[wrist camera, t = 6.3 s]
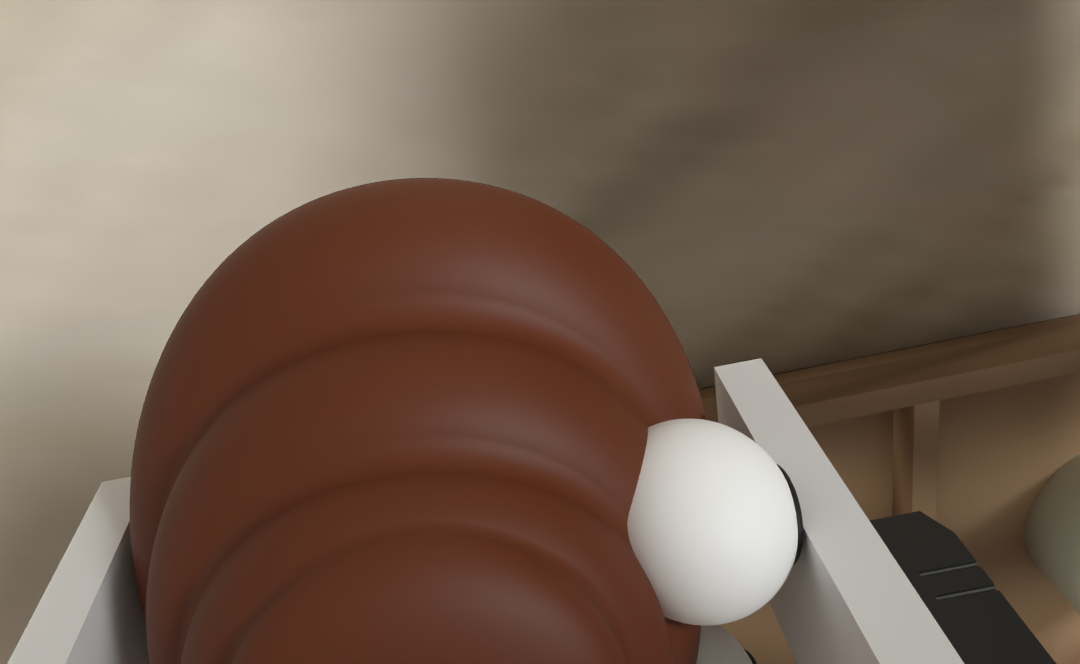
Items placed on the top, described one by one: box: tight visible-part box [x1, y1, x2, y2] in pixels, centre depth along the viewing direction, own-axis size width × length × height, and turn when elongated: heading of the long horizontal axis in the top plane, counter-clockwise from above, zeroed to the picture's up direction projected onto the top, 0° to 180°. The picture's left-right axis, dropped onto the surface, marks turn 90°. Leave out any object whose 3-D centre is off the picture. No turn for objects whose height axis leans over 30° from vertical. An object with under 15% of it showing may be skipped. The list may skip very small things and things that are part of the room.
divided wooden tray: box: [699, 314, 1080, 664], centre depth 34 cm, size 16×31×2 cm, turn 99°
